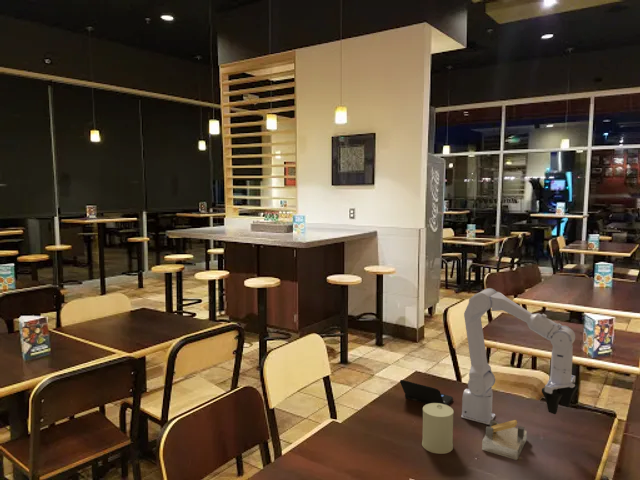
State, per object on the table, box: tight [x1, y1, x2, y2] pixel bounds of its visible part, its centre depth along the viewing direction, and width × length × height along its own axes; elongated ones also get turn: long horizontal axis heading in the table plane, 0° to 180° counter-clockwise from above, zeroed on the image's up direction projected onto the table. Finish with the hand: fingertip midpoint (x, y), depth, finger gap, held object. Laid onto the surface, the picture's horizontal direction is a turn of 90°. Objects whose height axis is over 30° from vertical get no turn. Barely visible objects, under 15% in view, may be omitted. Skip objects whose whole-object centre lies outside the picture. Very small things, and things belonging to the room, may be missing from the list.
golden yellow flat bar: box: [491, 419, 518, 432], centre depth 146 cm, size 8×3×1 cm, turn 55°
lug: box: [517, 425, 526, 437], centre depth 146 cm, size 2×2×2 cm
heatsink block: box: [481, 419, 528, 461], centre depth 146 cm, size 10×13×5 cm
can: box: [421, 403, 455, 455], centre depth 146 cm, size 9×9×12 cm
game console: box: [399, 379, 454, 406], centre depth 176 cm, size 16×14×9 cm
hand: (558, 409), depth 148 cm, fingers open, 7 cm apart
